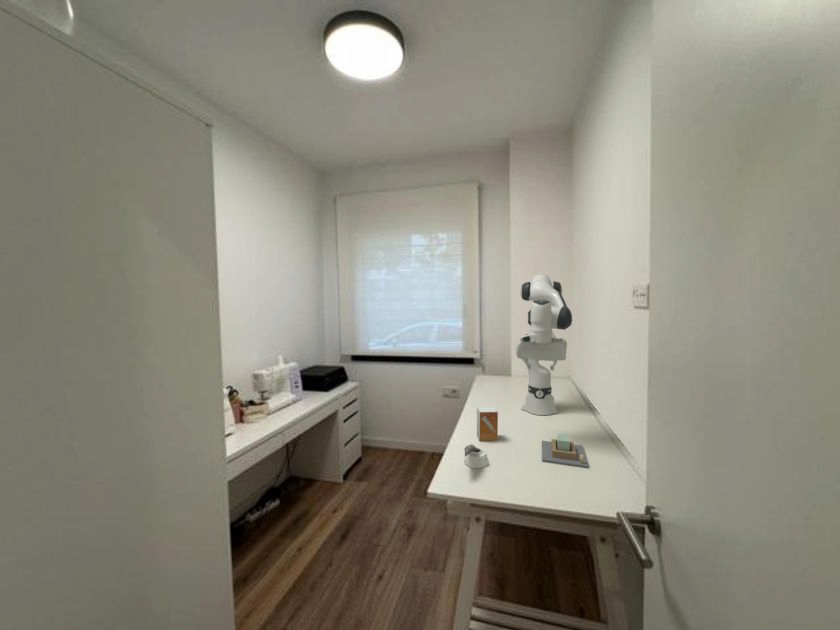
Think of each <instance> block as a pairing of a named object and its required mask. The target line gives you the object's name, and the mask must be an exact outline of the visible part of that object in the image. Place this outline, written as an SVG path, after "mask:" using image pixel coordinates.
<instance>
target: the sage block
mask: <svg viewBox="0 0 840 630" xmlns="http://www.w3.org/2000/svg"><path fill="white" fill-rule="evenodd" d="M556 440H557V449H558V450H562V451H570V441H571V440H570V436H569V434H564V433H557V439H556Z"/></svg>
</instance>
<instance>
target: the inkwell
mask: <svg viewBox="0 0 840 630" xmlns="http://www.w3.org/2000/svg"><path fill="white" fill-rule="evenodd" d="M464 464H465V465H466V466H467V467H469V468H473V469H478V468H479V469H484V468H486V467H488V466H489V459H488V456H487V452H486V451H485V450H484V449H482V448H481V447H478V446H475V445H473V444H472V443H471V444H467V446H465V448H464Z"/></svg>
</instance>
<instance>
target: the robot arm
mask: <svg viewBox="0 0 840 630" xmlns="http://www.w3.org/2000/svg"><path fill="white" fill-rule="evenodd" d="M563 291H564V289H563V287H562V284H561V282H560V281H555V280H553V281H551V278H550V277H549V276H548V274H544V273H540V274H536V275H535V276H534V277H533V278H532V280H531V281H526V282H524V283H523V284H522V285H521V287H520V291H519V293H520V297H521V299H522V300H523V301H526V302H529V301H530V302H531V301H532V303H531V307H530V310H529V311H528V312H527V324H528V325H529V329H530V330H529V331H530V333H526V334H523V335H520V336H519V340H518V342H517V343H516V345H515V354H516V357H517V358H518V359H520V360H521V361H522V362H524V364H525V366H526V368H527V370H528V381H529V383H528V386H527V391H528V392H527V393H526V394H525V395H524V400H525V401H524V404H523V405H522V406H521V408H520V409H521V410H522V411H525V412H527V413H528V414H532V415H537V416H549V415H550V416H551V415H553V414H559V411H558V409H557V408H556V407H555V397H554V396H553V395H552V393H553V392H552V385H551V381H552V373H551V371H555V366H556V365H557V364H558V361H565V360H566V359H567V347H568V342H567V341H566V340H565V339H564V338H557V337H556V335H555V334H554V331H553V330H554V329H557V330H567V329H568V328H570V327H571V326H572V323H573V314H572V311H571V309H570V308H569V307H568V305H567V303H566V301H565V298H564V297H563ZM539 361H546V362H547V361H549V362H553V363H552V365H550V368H549V369H550V370H549V369H548V368H547V367H546V366H543V365H542V364H540V363H539Z"/></svg>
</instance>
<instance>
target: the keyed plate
mask: <svg viewBox="0 0 840 630" xmlns="http://www.w3.org/2000/svg"><path fill="white" fill-rule="evenodd" d="M569 441H570V451H562V450H558V449H557V439H555V438H551V440H550V441H549V440H548V441H547V440H541V462H543V463H548V464H556V465H561V466H570V467H577V468H582V469H589V463H588V460H587V457H586V453H585V452H586V451H585V449H584V445H582V444H581V445H580V444H575V441H571V440H569Z"/></svg>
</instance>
